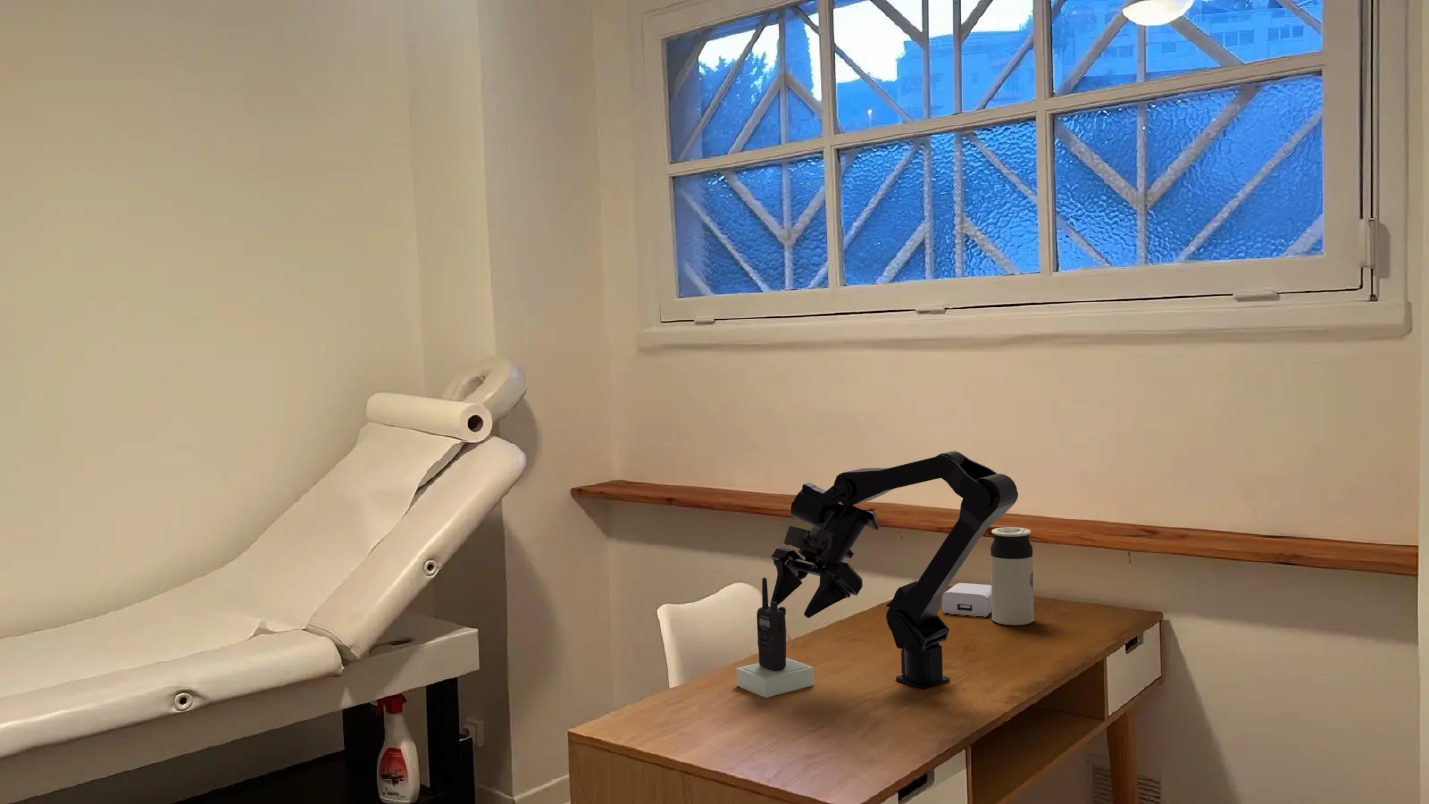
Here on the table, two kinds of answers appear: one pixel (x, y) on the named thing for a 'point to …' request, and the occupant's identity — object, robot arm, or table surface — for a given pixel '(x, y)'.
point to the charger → (968, 599)
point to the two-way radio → (771, 633)
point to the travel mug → (1012, 576)
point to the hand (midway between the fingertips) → (788, 611)
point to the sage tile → (775, 678)
